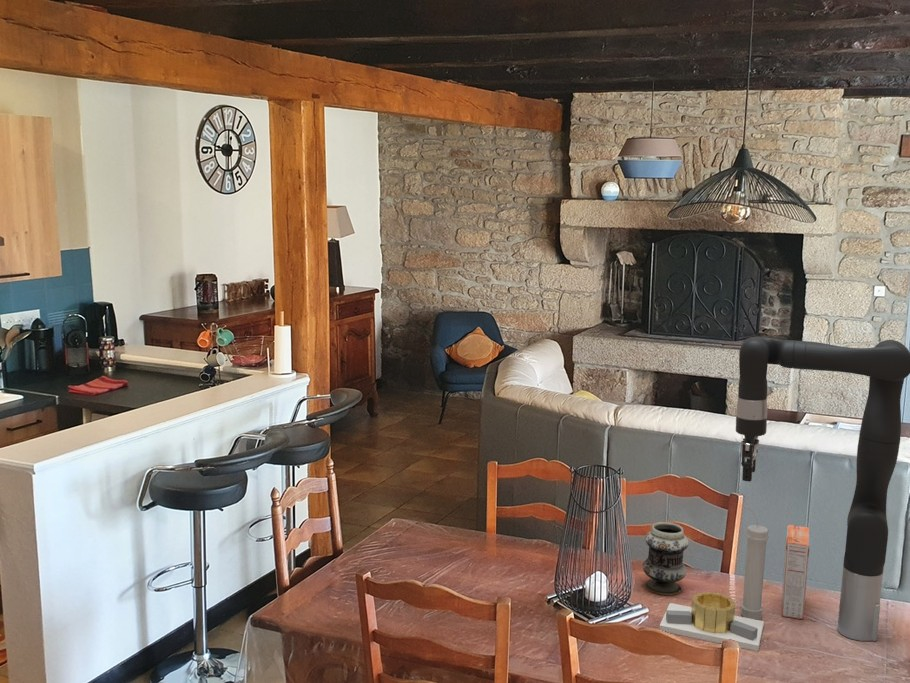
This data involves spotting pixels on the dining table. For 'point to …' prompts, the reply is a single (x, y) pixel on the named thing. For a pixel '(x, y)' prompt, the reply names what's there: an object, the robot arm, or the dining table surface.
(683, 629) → the shaft base
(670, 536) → the apothecary jar
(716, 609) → the collar
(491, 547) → the dining table surface
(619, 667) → the dining table surface
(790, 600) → the cracker box
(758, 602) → the pipe
